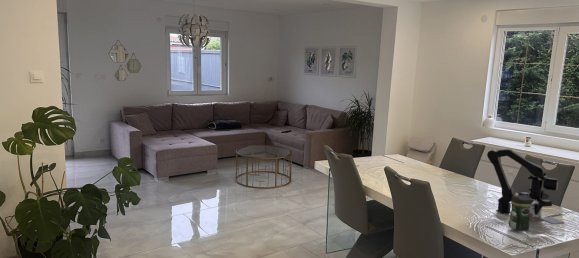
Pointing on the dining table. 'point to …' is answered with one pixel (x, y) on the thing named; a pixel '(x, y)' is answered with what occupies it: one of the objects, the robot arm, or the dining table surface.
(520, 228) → the coffee jar
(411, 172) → the dining table surface
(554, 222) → the pad
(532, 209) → the medicine box
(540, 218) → the shelf bay
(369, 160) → the dining table surface
